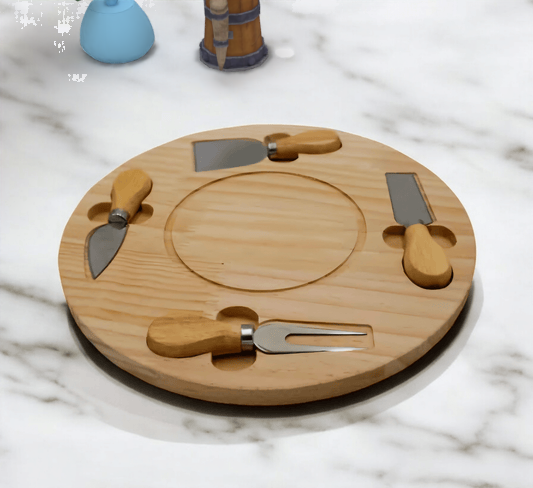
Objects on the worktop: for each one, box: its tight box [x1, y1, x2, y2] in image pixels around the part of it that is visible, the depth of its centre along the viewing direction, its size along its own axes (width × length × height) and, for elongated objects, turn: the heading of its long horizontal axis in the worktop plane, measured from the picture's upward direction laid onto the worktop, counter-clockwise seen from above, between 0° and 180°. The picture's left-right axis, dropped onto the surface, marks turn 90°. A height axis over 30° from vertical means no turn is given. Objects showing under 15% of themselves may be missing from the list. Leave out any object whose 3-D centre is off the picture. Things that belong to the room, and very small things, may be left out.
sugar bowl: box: [79, 0, 156, 65], centre depth 131 cm, size 15×15×12 cm
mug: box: [198, 0, 269, 73], centre depth 125 cm, size 19×14×20 cm
